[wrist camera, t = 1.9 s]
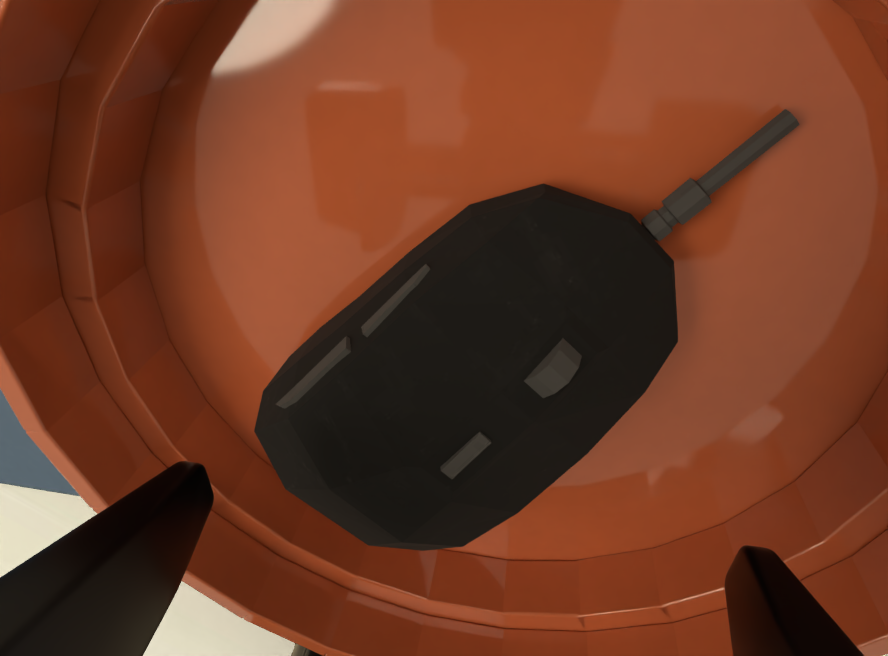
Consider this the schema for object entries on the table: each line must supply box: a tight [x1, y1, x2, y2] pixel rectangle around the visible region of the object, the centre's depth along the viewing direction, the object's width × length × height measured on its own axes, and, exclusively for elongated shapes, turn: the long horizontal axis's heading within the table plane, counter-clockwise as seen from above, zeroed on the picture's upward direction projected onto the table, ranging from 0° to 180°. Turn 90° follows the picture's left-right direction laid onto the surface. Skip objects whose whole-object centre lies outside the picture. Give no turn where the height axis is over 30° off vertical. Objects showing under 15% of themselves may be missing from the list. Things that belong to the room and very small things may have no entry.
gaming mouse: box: [254, 109, 800, 551], centre depth 12 cm, size 6×15×4 cm, turn 137°
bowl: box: [0, 0, 888, 656], centre depth 12 cm, size 20×20×4 cm
